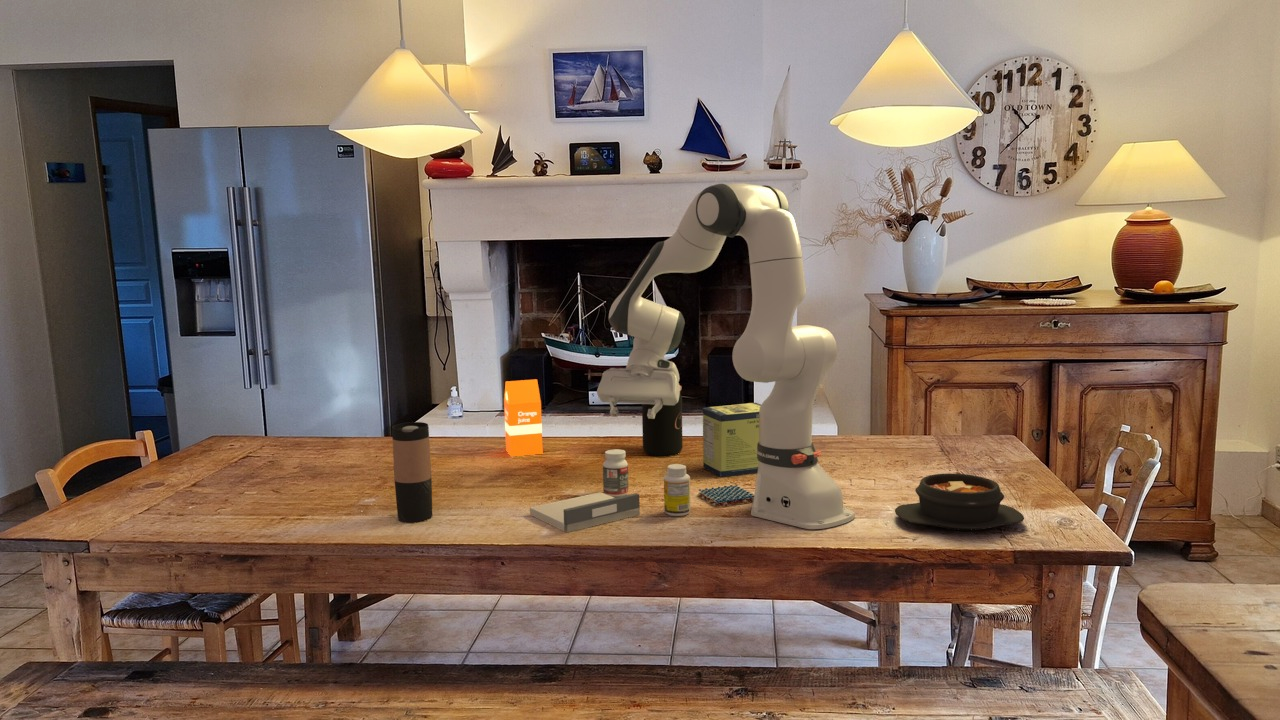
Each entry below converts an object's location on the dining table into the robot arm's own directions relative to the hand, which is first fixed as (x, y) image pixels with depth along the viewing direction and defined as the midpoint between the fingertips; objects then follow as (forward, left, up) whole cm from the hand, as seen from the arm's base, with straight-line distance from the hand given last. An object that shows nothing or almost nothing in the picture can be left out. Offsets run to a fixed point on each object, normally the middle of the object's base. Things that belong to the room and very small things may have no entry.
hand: (631, 416), depth 222 cm
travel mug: (+6, +53, -16) cm, 56 cm away
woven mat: (-26, -7, -16) cm, 32 cm away
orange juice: (+41, +7, -16) cm, 44 cm away
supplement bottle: (-27, +8, -16) cm, 32 cm away
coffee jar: (+17, -22, -16) cm, 32 cm away
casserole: (-68, -32, -16) cm, 77 cm away
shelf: (-16, +24, -16) cm, 33 cm away
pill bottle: (-7, +10, -16) cm, 20 cm away
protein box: (-9, -26, -16) cm, 32 cm away
